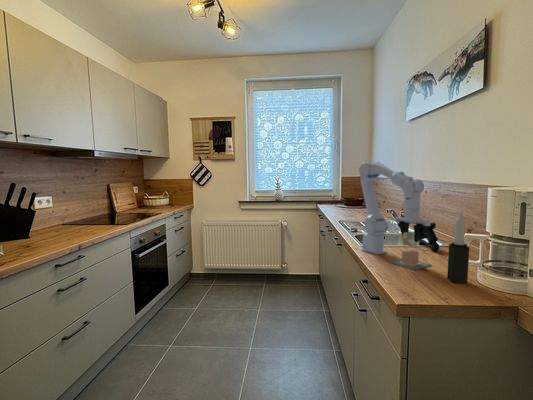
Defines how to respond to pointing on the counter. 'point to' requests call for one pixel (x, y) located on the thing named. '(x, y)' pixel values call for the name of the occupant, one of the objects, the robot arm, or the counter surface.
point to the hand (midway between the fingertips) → (410, 240)
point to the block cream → (409, 239)
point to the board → (414, 267)
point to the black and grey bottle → (458, 254)
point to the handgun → (430, 237)
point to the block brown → (410, 257)
